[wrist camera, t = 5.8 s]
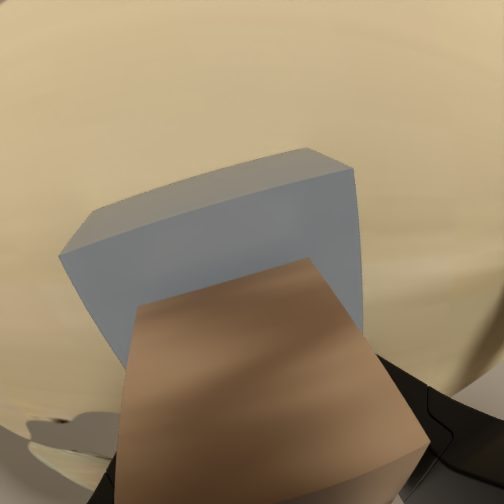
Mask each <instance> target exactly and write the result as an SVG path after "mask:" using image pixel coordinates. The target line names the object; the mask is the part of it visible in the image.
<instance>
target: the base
mask: <svg viewBox="0 0 504 504" xmlns="http://www.w3.org/2000/svg"><path fill="white" fill-rule="evenodd" d="M58 257H59V259H60V261H61V263H62V265H63V267H64V269H65V271H66V273H67V275H68V276H69V278H70V280H71V282H72V284H73V286H74V288H75V289H76V291H77V293H78V295H79V297H80V298H81V300H82V302H83V304H84V305H85V307H86V309H87V310H88V312H89V314H90V315H91V317H92V319H93V320H94V322H95V324H96V325H97V327H98V328H99V330H100V332H101V333H102V335H103V336H104V338H105V339H106V341H107V343H108V344H109V346H110V347H111V349H112V350H113V352H114V353H115V355H116V356H117V358H118V359H119V360H120V362H121V363H122V365H123V366H124V368H125V369H127V363H128V356H129V350H130V345H131V339H132V333H133V328H134V323H135V317H136V312H137V307H138V306H141V305H145V304H149V303H152V302H156V301H160V300H163V299H167V298H170V297H174V296H177V295H181V294H185V293H188V292H192V291H195V290H199V289H202V288H206V287H209V286H213V285H216V284H220V283H223V282H227V281H230V280H233V279H237V278H240V277H244V276H247V275H251V274H254V273H257V272H261V271H264V270H267V269H271V268H274V267H277V266H281V265H284V264H287V263H291V262H294V261H297V260H301V259H304V258H307V257H309V258H310V259H311V261H312V262H313V264H314V265H315V266H316V268H317V269H318V271H319V272H320V273H321V275H322V276H323V278H324V279H325V281H326V282H327V283H328V285H329V286H330V288H331V289H332V291H333V292H334V293H335V295H336V296H337V298H338V299H339V301H340V302H341V304H342V305H343V306H344V308H345V309H346V311H347V312H348V314H349V315H350V317H351V318H352V320H353V321H354V323H355V324H356V325H357V327H358V328H359V330H360V331H361V333H362V334H363V292H362V265H361V246H360V232H359V219H358V208H357V197H356V188H355V179H354V170H353V168H352V167H350V166H347V165H345V164H343V163H341V162H339V161H337V160H334V159H332V158H330V157H328V156H325V155H323V154H321V153H318V152H316V151H314V150H311V149H309V148H303V149H298V150H294V151H290V152H285V153H281V154H277V155H273V156H269V157H265V158H261V159H257V160H253V161H249V162H245V163H241V164H238V165H234V166H230V167H227V168H223V169H219V170H216V171H212V172H209V173H206V174H202V175H199V176H195V177H192V178H189V179H185V180H182V181H179V182H176V183H173V184H170V185H166V186H163V187H160V188H157V189H154V190H151V191H148V192H145V193H142V194H139V195H136V196H133V197H131V198H128V199H125V200H122V201H119V202H116V203H114V204H111V205H108V206H106V207H103V208H100V209H98V210H95V211H93V212H92V213H91V214H90V215H89V217H88V218H87V219H86V220H85V221H84V223H83V224H82V225H81V226H80V228H79V229H78V230H77V232H76V233H75V234H74V235H73V237H72V238H71V239H70V241H69V242H68V243H67V245H66V246H65V247H64V249H63V250H62V251H61V253H60V254H59V255H58Z"/></svg>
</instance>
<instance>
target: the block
mask: <svg viewBox="0 0 504 504" xmlns="http://www.w3.org/2000/svg"><path fill="white" fill-rule="evenodd" d="M430 442H431V441H430V440H429V438H428V436H427V435H426V433H425V431H424V430H423V428H422V426H421V425H420V423H419V422H418V420H417V418H416V417H415V415H414V413H413V412H412V410H411V409H410V407H409V405H408V404H407V402H406V401H405V399H404V397H403V396H402V394H401V393H400V391H399V389H398V388H397V386H396V385H395V383H394V382H393V380H392V379H391V377H390V375H389V374H388V372H387V371H386V369H385V368H384V366H383V365H382V363H381V362H380V360H379V359H378V357H377V355H376V354H375V352H374V351H373V349H372V348H371V346H370V345H369V343H368V342H367V340H366V339H365V337H364V336H363V334H362V333H361V331H360V330H359V328H358V327H357V325H356V324H355V323H354V321H353V320H352V318H351V317H350V315H349V314H348V312H347V311H346V309H345V308H344V306H343V305H342V304H341V302H340V301H339V299H338V298H337V296H336V295H335V293H334V292H333V291H332V289H331V288H330V286H329V285H328V283H327V282H326V281H325V279H324V278H323V276H322V275H321V273H320V272H319V271H318V269H317V268H316V266H315V265H314V264H313V262H312V261H311V259H310V258H309V257H307V258H304V259H301V260H297V261H294V262H291V263H287V264H284V265H281V266H277V267H274V268H271V269H267V270H264V271H261V272H257V273H254V274H251V275H247V276H244V277H240V278H237V279H233V280H230V281H227V282H223V283H220V284H216V285H213V286H209V287H206V288H202V289H199V290H195V291H192V292H188V293H185V294H181V295H177V296H174V297H170V298H167V299H163V300H160V301H156V302H152V303H149V304H145V305H141V306H138V307H137V312H136V317H135V323H134V328H133V333H132V339H131V345H130V350H129V356H128V363H127V369H126V376H125V383H124V390H123V398H122V406H121V414H120V424H119V434H118V445H117V457H116V473H115V495H114V504H391V503H392V502H393V500H394V499H395V497H396V496H397V495H398V493H399V492H400V490H401V489H402V487H403V486H404V484H405V483H406V481H407V480H408V478H409V477H410V475H411V474H412V472H413V471H414V469H415V467H416V466H417V464H418V462H419V461H420V459H421V457H422V456H423V454H424V452H425V451H426V449H427V447H428V445H429V444H430Z"/></svg>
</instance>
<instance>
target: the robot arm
mask: <svg viewBox="0 0 504 504" xmlns="http://www.w3.org/2000/svg"><path fill="white" fill-rule="evenodd" d="M375 354H376V353H375ZM376 355H377V354H376ZM377 357H378V359H379V360H380V362H381V363H382V365H383V366H384V368H385V369H386V371H387V372H388V374H389V375H390V377H391V379H392V380H393V382H394V383H395V385H396V386H397V388H398V389H399V391H400V393H401V394H402V396H403V397H404V399H405V401H406V402H407V404H408V405H409V407H410V409H411V410H412V412H413V413H414V415H415V417H416V418H417V420H418V422H419V423H420V425H421V426H422V428H423V430H424V431H425V433H426V435H427V436H428V438H429V440H430V441H431V442H430V444H429V445H428V447H427V449H426V451H425V452H424V454H423V456H422V457H421V459H420V461H419V462H418V464H417V466H416V467H415V469H414V471H413V472H412V474H411V475H410V477H409V478H408V480H407V481H406V483H405V484H404V486H403V487H402V489H401V490H400V492H399V493H398V494H399V495H400V497H401V499H402V501H403V502H404V504H504V420H501V419H497V418H495V417H493V416H490V415H488V414H485V413H483V412H480V411H478V410H476V409H473V408H471V407H469V406H466V405H464V404H462V403H460V402H457V401H456V400H453V399H451V398H450V397H448V396H446V395H444V394H442V393H440V392H439V391H437V390H435V389H434V388H432V387H430V386H427V384H425V383H423V382H422V381H420V380H418V379H417V378H415V377H413V376H412V375H410V374H408V373H407V372H405V371H404V370H402V369H400V368H399V367H397V366H395V365H394V364H392V363H390V362H389V361H387V360H385V359H384V358H382V357H380V356H379V355H377ZM116 457H117V451H116V453H115V455H114V457H113V459H112V461H111V462H110V464H109V466H108V468H107V470H106V472H105V473H104V475H103V477H102V479H101V481H100V483H99V484H98V486H97V488H96V490H95V491H94V493H93V495H92V496H91V498H90V499H89V501H88V502H87V504H114V495H115V473H116Z"/></svg>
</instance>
